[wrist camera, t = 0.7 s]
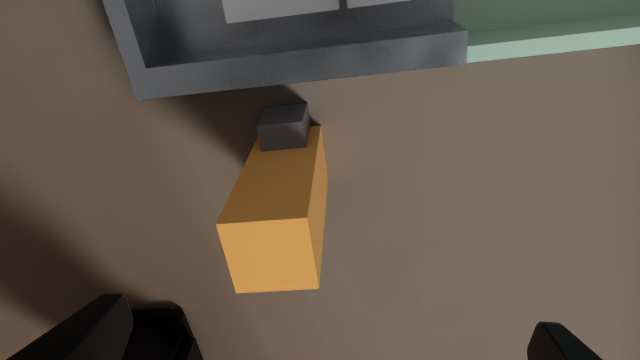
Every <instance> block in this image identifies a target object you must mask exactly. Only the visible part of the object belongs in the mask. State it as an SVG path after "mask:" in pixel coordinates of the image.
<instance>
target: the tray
mask: <svg viewBox="0 0 640 360" xmlns="http://www.w3.org/2000/svg"><path fill="white" fill-rule="evenodd" d="M452 21H454V22H456V23H457V24H459V25H460V26H462V27H463V28H465V29H466V30H468V44H467V63H470V62H479V61H488V60H497V59H506V58H515V57H524V56H533V55H543V54H552V53H561V52H570V51H579V50H588V49H597V48H606V47H616V46H625V45H634V44H640V0H453V16H452Z"/></svg>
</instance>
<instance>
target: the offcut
mask: <svg viewBox="0 0 640 360" xmlns="http://www.w3.org/2000/svg"><path fill="white" fill-rule="evenodd" d="M222 5H223V9H224V14H225V18H226V23H227V24H228V23H236V22H244V21H252V20H260V19H268V18H275V17H283V16H291V15H299V14H307V13H315V12H323V11H331V10H338V9H339V5H340V0H222Z"/></svg>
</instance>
